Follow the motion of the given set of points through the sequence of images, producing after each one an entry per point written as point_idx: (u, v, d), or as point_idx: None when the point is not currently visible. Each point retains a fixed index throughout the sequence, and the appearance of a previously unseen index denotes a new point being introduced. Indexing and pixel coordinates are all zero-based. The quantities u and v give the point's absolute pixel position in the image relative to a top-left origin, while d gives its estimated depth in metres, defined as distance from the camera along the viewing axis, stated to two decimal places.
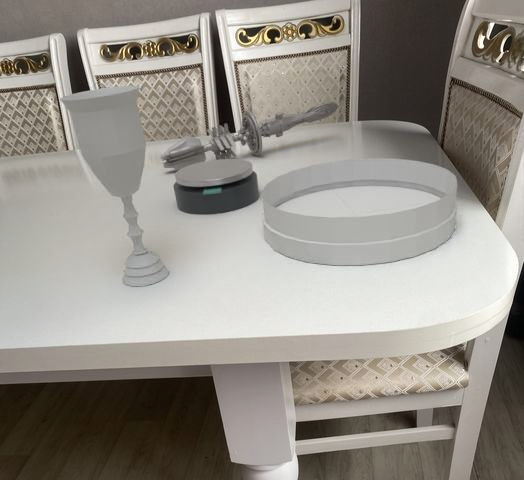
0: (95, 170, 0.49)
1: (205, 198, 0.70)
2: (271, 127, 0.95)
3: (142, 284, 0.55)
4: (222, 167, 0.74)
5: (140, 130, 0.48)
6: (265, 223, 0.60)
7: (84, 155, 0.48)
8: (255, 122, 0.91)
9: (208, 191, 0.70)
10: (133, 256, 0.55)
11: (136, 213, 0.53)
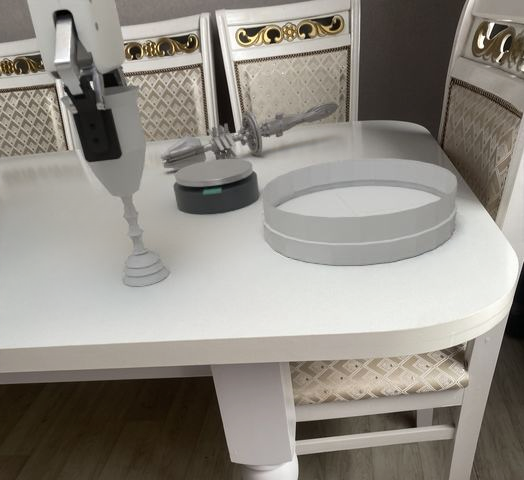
0: (95, 170, 0.49)
1: (205, 198, 0.70)
2: (271, 127, 0.95)
3: (142, 284, 0.55)
4: (222, 167, 0.74)
5: (140, 130, 0.48)
6: (265, 223, 0.60)
7: None
8: (255, 122, 0.91)
9: (208, 191, 0.70)
10: (133, 256, 0.55)
11: (136, 213, 0.53)
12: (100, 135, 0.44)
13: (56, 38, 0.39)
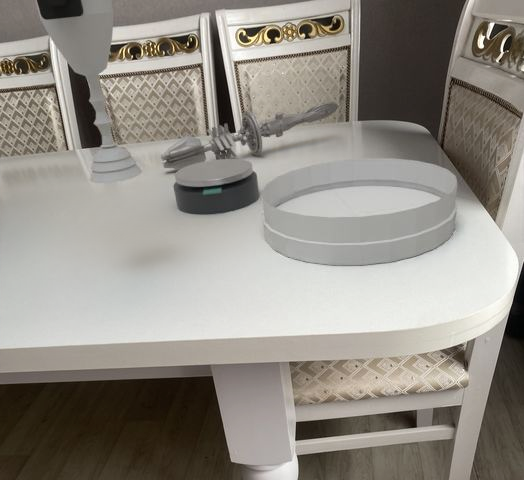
0: (55, 37, 0.43)
1: (205, 198, 0.70)
2: (271, 127, 0.95)
3: (111, 180, 0.49)
4: (222, 167, 0.74)
5: None
6: (265, 223, 0.60)
7: None
8: (255, 122, 0.91)
9: (208, 191, 0.70)
10: (101, 150, 0.49)
11: (104, 97, 0.47)
12: None
13: None
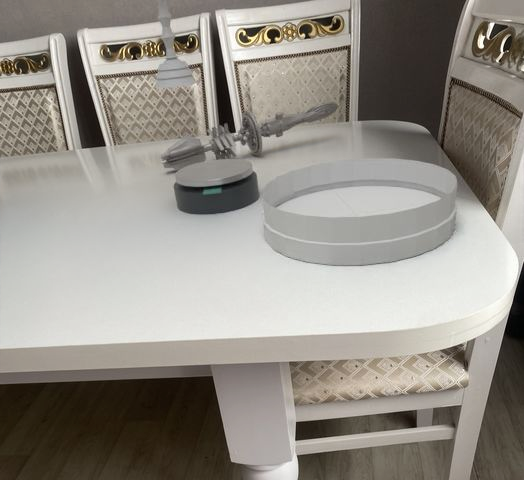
0: None
1: (205, 198, 0.70)
2: (271, 127, 0.95)
3: (173, 86, 0.59)
4: (222, 167, 0.74)
5: None
6: (265, 223, 0.60)
7: None
8: (255, 122, 0.91)
9: (208, 191, 0.70)
10: (165, 61, 0.60)
11: (169, 14, 0.58)
12: None
13: None
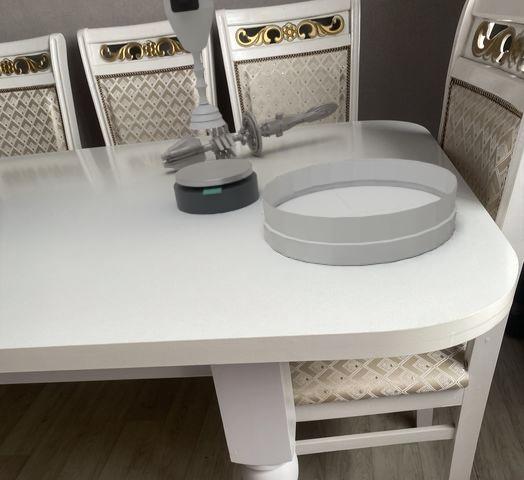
0: (176, 24, 0.63)
1: (205, 198, 0.70)
2: (271, 127, 0.95)
3: (206, 128, 0.69)
4: (222, 167, 0.74)
5: None
6: (265, 223, 0.60)
7: (168, 11, 0.62)
8: (255, 122, 0.91)
9: (208, 191, 0.70)
10: (198, 106, 0.69)
11: (203, 67, 0.67)
12: None
13: None
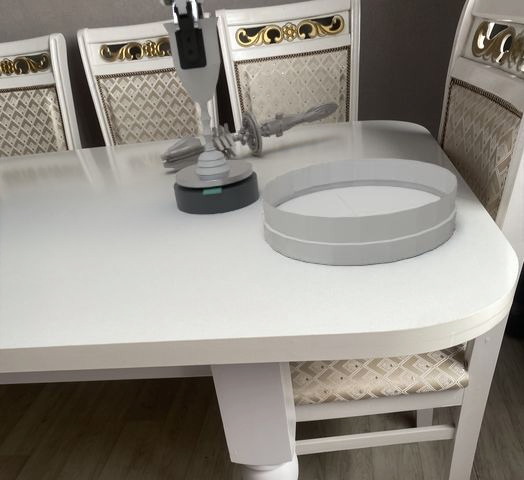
0: (184, 79, 0.66)
1: (205, 198, 0.70)
2: (271, 127, 0.95)
3: (212, 173, 0.72)
4: None
5: (218, 49, 0.66)
6: (265, 223, 0.60)
7: (177, 67, 0.65)
8: (255, 122, 0.91)
9: (208, 191, 0.70)
10: (205, 152, 0.72)
11: (210, 117, 0.70)
12: (194, 47, 0.62)
13: None
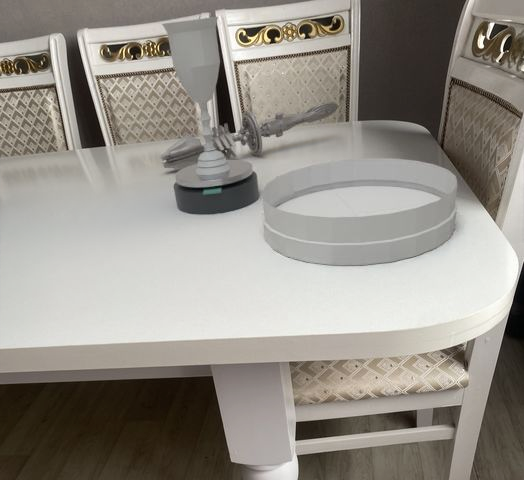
0: (184, 79, 0.66)
1: (205, 198, 0.70)
2: (271, 127, 0.95)
3: (212, 173, 0.72)
4: None
5: (217, 49, 0.66)
6: (265, 223, 0.60)
7: (177, 67, 0.65)
8: (255, 122, 0.91)
9: (208, 191, 0.70)
10: (205, 152, 0.72)
11: (209, 117, 0.70)
12: None
13: None
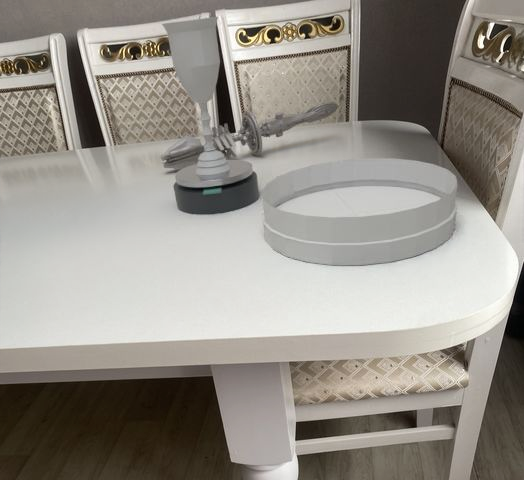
0: (184, 79, 0.66)
1: (205, 198, 0.70)
2: (271, 127, 0.95)
3: (212, 173, 0.72)
4: None
5: (217, 49, 0.66)
6: (265, 223, 0.60)
7: (177, 67, 0.65)
8: (255, 122, 0.91)
9: (208, 191, 0.70)
10: (205, 152, 0.72)
11: (209, 117, 0.70)
12: None
13: None
